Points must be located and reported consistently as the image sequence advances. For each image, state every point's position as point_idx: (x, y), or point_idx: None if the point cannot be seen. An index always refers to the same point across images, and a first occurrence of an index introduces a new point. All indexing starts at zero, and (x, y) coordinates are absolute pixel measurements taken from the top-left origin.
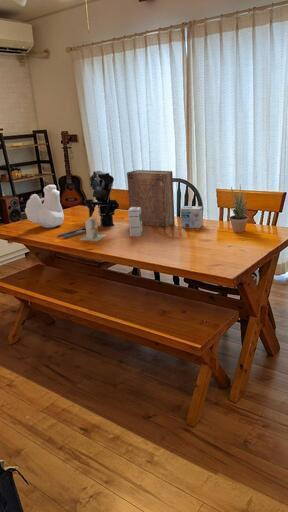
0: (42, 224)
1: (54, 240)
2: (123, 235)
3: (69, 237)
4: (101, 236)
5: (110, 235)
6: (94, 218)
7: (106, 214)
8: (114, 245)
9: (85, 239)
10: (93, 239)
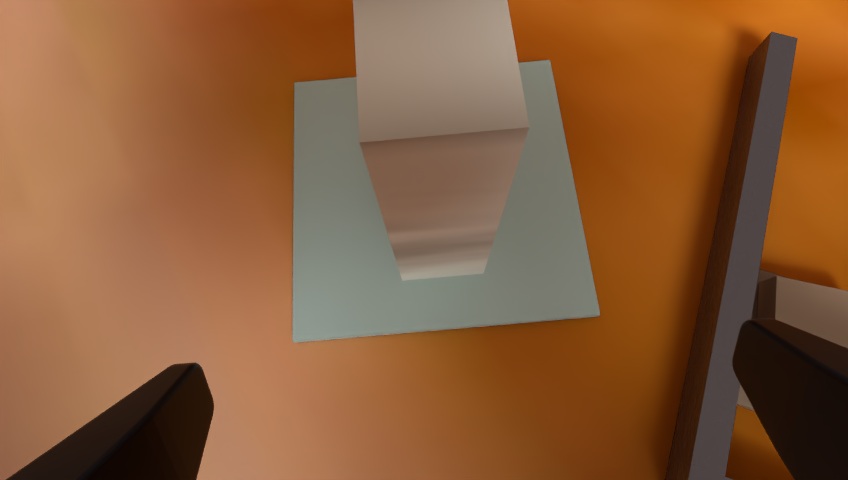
0: None
1: (841, 2)
2: (43, 424)
3: (743, 106)
4: (332, 253)
5: (246, 372)
6: (355, 42)
7: (93, 441)
8: (40, 33)
9: None
10: None
